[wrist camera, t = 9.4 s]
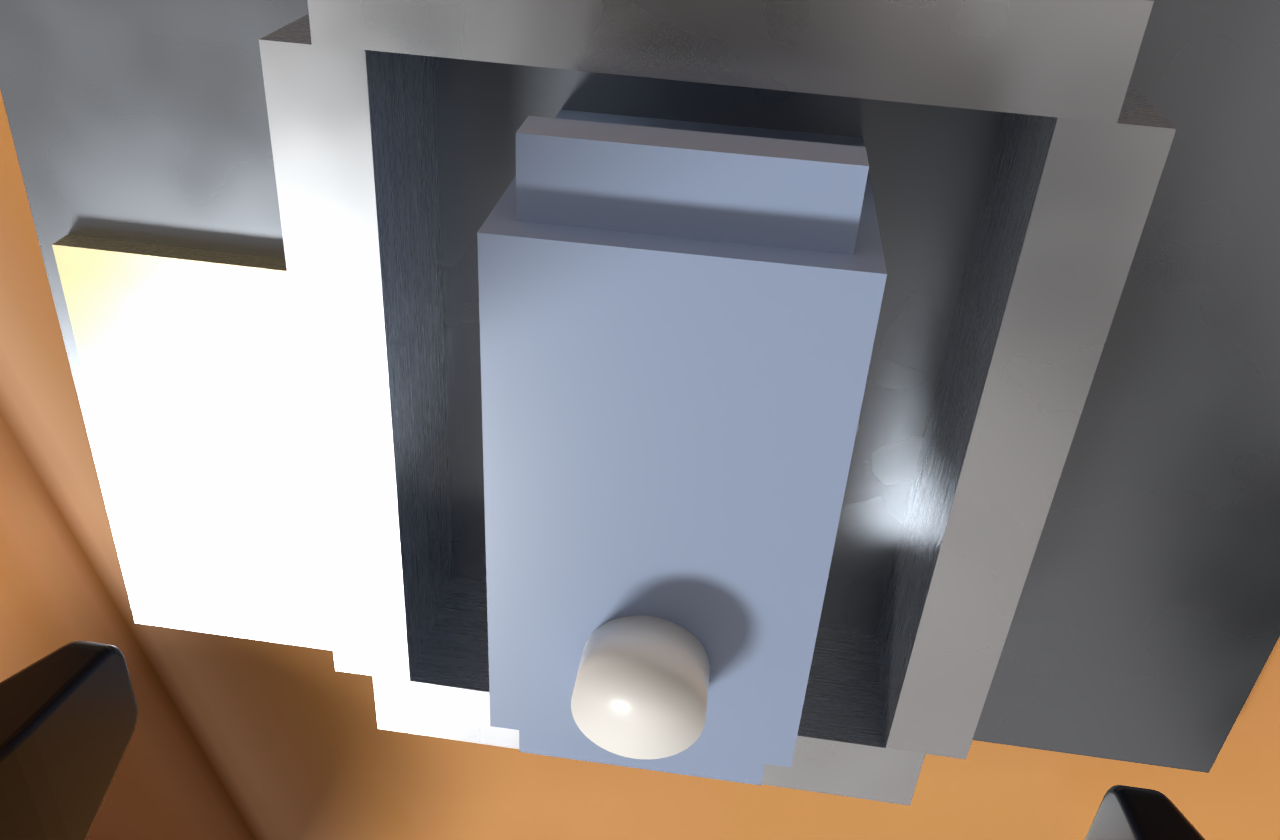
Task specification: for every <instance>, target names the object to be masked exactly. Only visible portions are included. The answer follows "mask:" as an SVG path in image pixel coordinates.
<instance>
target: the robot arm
mask: <svg viewBox="0 0 1280 840" xmlns="http://www.w3.org/2000/svg"><path fill="white" fill-rule="evenodd" d="M137 716H138V709H137V702H136V699H135V695H134V691H133V687H132V684H131V680H130V676H129V672H128V669H127V665H126V661H125V657H124V655H123V653H122V652H121V651H120V649H119V648H118V647H116V646H113V645H109V644H101V643H94V642H87V641H74V642H71V643H69V644H66V645H64V646H62V647H61V648H59V649H57V650H56V651H54V652H52V653H50V654H49V655H47V656H45V657H44V658H42V659H40V660H38V661H37V662H35V663H33V664H32V665H30V666H28V667H26V668H25V669H23V670H21V671H20V672H18V673H16V674H14V675H13V676H11V677H9V678H7V679H6V680H4V681H2V682H1V683H0V840H86V838H87V836H88V834H89V832H90V829H91V827H92V825H93V823H94V821H95V818H96V816H97V814H98V812H99V809H100V807H101V805H102V803H103V800H104V798H105V796H106V794H107V791H108V789H109V787H110V785H111V782H112V780H113V778H114V776H115V773H116V771H117V769H118V767H119V764H120V762H121V760H122V758H123V755H124V753H125V751H126V749H127V747H128V744H129V742H130V740H131V738H132V735H133V733H134V730H135V726H136V723H137ZM1085 840H1205V839H1204V838H1203V836H1202V835H1201V834H1200V833H1199V832H1198V831H1197V830H1196V829H1195V827H1194V826H1193V825H1192V824H1191V823H1190V822H1189V821H1188V820H1187V818H1186V817H1185V816H1184V815H1183V814H1182V813H1181V812H1180V811H1179V809H1178V808H1177V807H1176V806H1175V805H1174V804H1173V803H1172V802H1171V801H1170V800H1169V799H1168V798H1167V797H1166V796H1165V795H1163V794H1162V793H1160V792H1158V791H1155V790H1151V789H1144V788H1137V787H1129V786H1122V785H1117V786H1113V787H1111V788H1110V789H1109V790H1108V791H1107V793H1106V794H1105V796H1104V798H1103V800H1102V803H1101V805H1100V807H1099V809H1098V812H1097V814H1096V816H1095V818H1094V820H1093V823H1092V825H1091V827H1090V829H1089V832H1088V834H1087V836H1086V838H1085Z"/></svg>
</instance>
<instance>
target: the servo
mask: <svg viewBox="0 0 1280 840" xmlns="http://www.w3.org/2000/svg"><path fill="white" fill-rule="evenodd" d="M477 243H478V280H479V318H480V356H481V393H482V431H483V469H484V506H485V544H486V581H487V619H488V657H489V694H490V726H492V727H499V728H507V729H514V730H519V752H524V753H532V754H539V755H546V756H553V757H560V758H568V759H575V760H582V761H589V762H596V763H604V764H611V765H618V766H625V767H632V768H640V769H647V770H654V771H661V772H668V773H676V774H683V775H690V776H697V777H704V778H712V779H719V780H726V781H733V782H740V783H748V784H755V785H761V782H762V776H763V771H764V765H765V764H769V765H776V766H784V767H791V765H792V760H793V755H794V750H795V745H796V740H797V735H798V729H799V724H800V719H801V714H802V709H803V704H804V699H805V694H806V688H807V683H808V678H809V673H810V668H811V663H812V658H813V652H814V647H815V642H816V637H817V632H818V627H819V622H820V617H821V611H822V606H823V601H824V596H825V591H826V586H827V581H828V575H829V570H830V565H831V560H832V555H833V550H834V545H835V540H836V534H837V529H838V524H839V519H840V514H841V509H842V504H843V498H844V493H845V488H846V483H847V478H848V473H849V468H850V463H851V457H852V452H853V447H854V442H855V437H856V432H857V427H858V421H859V416H860V411H861V406H862V401H863V396H864V391H865V386H866V380H867V375H868V370H869V365H870V360H871V355H872V350H873V344H874V339H875V334H876V329H877V324H878V319H879V314H880V309H881V303H882V298H883V293H884V288H885V283H886V278H887V270H886V265H885V259H884V254H883V248H882V242H881V237H880V231H879V226H878V220H877V214H876V209H875V203H874V198H873V192H872V186H871V181H870V175H869V163H868V157H867V152H866V147H864V141H863V138H862V137H852V136H841V135H830V134H819V133H808V132H797V131H787V130H776V129H765V128H754V127H743V126H732V125H722V124H711V123H700V122H689V121H678V120H667V119H656V118H646V117H635V116H624V115H613V114H602V113H591V112H581V111H570V110H560V111H559V113H558V114H557V116H556V117H555V118H549V117H538V116H528V117H527V119H526V120H525V121H524V123H523V124H522V125H521V127H520V128H519V129H518V131H517V132H516V176H515V178H514V179H513V181H512V182H511V184H510V185H509V186H508V188H507V189H506V191H505V192H504V194H503V195H502V197H501V198H500V200H499V201H498V203H497V204H496V206H495V207H494V209H493V210H492V212H491V213H490V214H489V216H488V217H487V219H486V220H485V222H484V223H483V225H482V226H481V228H480V229H479V231H478V232H477Z"/></svg>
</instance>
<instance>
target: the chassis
mask: <svg viewBox="0 0 1280 840" xmlns="http://www.w3.org/2000/svg"><path fill="white" fill-rule="evenodd" d="M0 89H1V93H2V97H3V101H4V105H5V109H6V113H7V117H8V121H9V125H10V129H11V133H12V137H13V141H14V145H15V149H16V153H17V157H18V161H19V165H20V169H21V173H22V177H23V181H24V185H25V189H26V193H27V197H28V200H29V204H30V208H31V212H32V216H33V220H34V224H35V228H36V232H37V236H38V240H39V244H40V248H41V252H42V256H43V260H44V264H45V268H46V272H47V276H48V280H49V284H50V288H51V292H52V296H53V300H54V304H55V308H56V312H57V316H58V320H59V324H60V327H61V331H62V335H63V339H64V343H65V347H66V351H67V355H68V359H69V363H70V367H71V371H72V375H73V379H74V383H75V387H76V391H77V395H78V399H79V403H80V407H81V411H82V415H83V419H84V423H85V427H86V431H87V435H88V439H89V443H90V447H91V450H92V454H93V458H94V462H95V466H96V470H97V474H98V478H99V482H100V486H101V490H102V494H103V498H104V502H105V506H106V510H107V514H108V518H109V522H110V526H111V530H112V534H113V538H114V542H115V546H116V550H117V554H118V558H119V562H120V566H121V570H122V573H123V577H124V581H125V585H126V589H127V593H128V597H129V601H130V605H131V609H132V613H133V617H134V621H135V623H137V624H144V625H151V626H159V627H166V628H173V629H180V630H187V631H195V632H202V633H209V634H216V635H223V636H230V637H238V638H245V639H252V640H259V641H266V642H274V643H281V644H288V645H295V646H302V647H309V648H317V649H324V650H331V651H333V654H334V662H335V670H336V671H341V672H348V673H356V674H363V675H370V676H373V685H374V696H375V706H376V716H377V727H378V729H383V730H390V731H397V732H404V733H411V734H417V735H424V736H431V737H438V738H445V739H452V740H459V741H466V742H473V743H480V744H487V745H494V746H501V747H508V748H515V749H519V730H514V729H507V728H499V727H492V726H490V694H489V657H488V619H487V581H486V544H485V506H484V469H483V431H482V393H481V356H480V318H479V280H478V243H477V232H478V231H479V229H480V228H481V226H482V225H483V223H484V222H485V220H486V219H487V217H488V216H489V214H490V213H491V212H492V210H493V209H494V207H495V206H496V204H497V203H498V201H499V200H500V198H501V197H502V195H503V194H504V192H505V191H506V189H507V188H508V186H509V185H510V184H511V182H512V181H513V179H514V178H515V176H516V132H517V131H518V129H519V128H520V127H521V125H522V124H523V123H524V121H525V120H526V119H527V117H528V116H538V117H549V118H555V117H556V116H557V114H558V113H559V111H560V110H570V111H581V112H591V113H602V114H613V115H624V116H635V117H646V118H656V119H667V120H678V121H689V122H700V123H711V124H722V125H732V126H743V127H754V128H765V129H776V130H787V131H797V132H808V133H819V134H830V135H841V136H852V137H862V138H863V141H864V147H866V152H867V157H868V163H869V175H870V181H871V186H872V192H873V198H874V203H875V209H876V214H877V220H878V226H879V231H880V237H881V242H882V248H883V254H884V259H885V265H886V270H887V278H886V283H885V288H884V293H883V298H882V303H881V309H880V314H879V319H878V324H877V329H876V334H875V339H874V344H873V350H872V355H871V360H870V365H869V370H868V375H867V380H866V386H865V391H864V396H863V401H862V406H861V411H860V416H859V421H858V427H857V432H856V437H855V442H854V447H853V452H852V457H851V463H850V468H849V473H848V478H847V483H846V488H845V493H844V498H843V504H842V509H841V514H840V519H839V524H838V529H837V534H836V540H835V545H834V550H833V555H832V560H831V565H830V570H829V575H828V581H827V586H826V591H825V596H824V601H823V606H822V611H821V617H820V622H819V627H818V632H817V637H816V642H815V647H814V652H813V658H812V663H811V668H810V673H809V678H808V683H807V688H806V694H805V699H804V704H803V709H802V714H801V719H800V724H799V729H798V735H797V740H796V745H795V750H794V755H793V760H792V765H791V767H784V766H776V765H769V764H765V765H764V771H763V776H762V782H761V784H764V785H771V786H778V787H785V788H792V789H799V790H806V791H813V792H820V793H827V794H834V795H840V796H847V797H854V798H861V799H868V800H875V801H882V802H889V803H896V804H903V805H910V803H911V800H912V797H913V793H914V790H915V787H916V784H917V780H918V777H919V774H920V770H921V767H922V764H923V760H924V757H925V754H932V755H939V756H946V757H953V758H960V759H966V757H967V754H968V751H969V748H970V745H971V742H972V740H977V741H984V742H992V743H999V744H1006V745H1013V746H1020V747H1027V748H1035V749H1042V750H1049V751H1056V752H1063V753H1071V754H1078V755H1085V756H1092V757H1099V758H1106V759H1114V760H1121V761H1128V762H1135V763H1142V764H1149V765H1157V766H1164V767H1171V768H1178V769H1185V770H1193V771H1200V772H1207V773H1209V771H1210V769H1211V767H1212V765H1213V763H1214V761H1215V759H1216V757H1217V756H1218V754H1219V752H1220V750H1221V748H1222V746H1223V744H1224V742H1225V740H1226V738H1227V736H1228V734H1229V732H1230V730H1231V728H1232V727H1233V725H1234V723H1235V721H1236V719H1237V717H1238V715H1239V713H1240V711H1241V709H1242V707H1243V705H1244V703H1245V701H1246V700H1247V698H1248V696H1249V694H1250V692H1251V690H1252V688H1253V686H1254V684H1255V682H1256V680H1257V678H1258V676H1259V674H1260V673H1261V671H1262V669H1263V667H1264V665H1265V663H1266V661H1267V659H1268V657H1269V655H1270V653H1271V651H1272V649H1273V647H1274V646H1275V644H1276V642H1277V640H1278V638H1279V636H1280V0H0Z"/></svg>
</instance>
